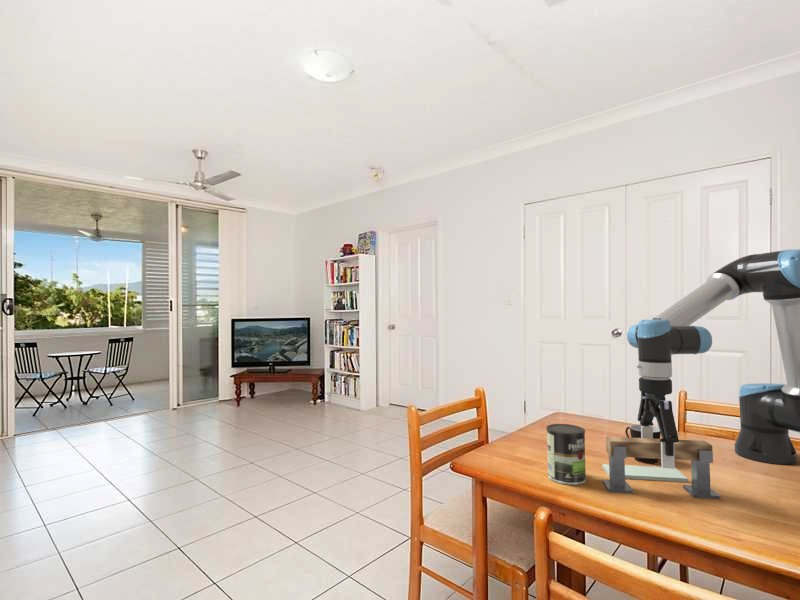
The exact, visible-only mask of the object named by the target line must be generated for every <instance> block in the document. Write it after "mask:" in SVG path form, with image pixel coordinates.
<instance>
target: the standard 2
mask: <svg viewBox="0 0 800 600" xmlns="http://www.w3.org/2000/svg"><path fill="white" fill-rule="evenodd" d="M713 452H714V451H713V449H712V450H702V449H698V461H694V460H690V468H691V469H690V472H691V473H690V474H691V475H690V476H691V484H682V489H683V490H685V491H686V492H687V493H688V494H689V495H690V496H691V497H692V498H695V499H709V500H710V499H711V500H721V498H722V497H721V495H720V494H719V493H717V492H716V491H715V490H714V489H713V488H711V467H710V466H711V465H710V464H713V463H714V453H713Z"/></svg>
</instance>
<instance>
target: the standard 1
mask: <svg viewBox="0 0 800 600" xmlns="http://www.w3.org/2000/svg"><path fill="white" fill-rule="evenodd" d="M627 458H628V457H626V446H613V456H610V455H609V454H608V464H609V474H610V477H609V480H608V479H601V481H602V482H601V483H602V484H603V486H604V487H605V489H606V490H607V492H608V493H617V494H618V493H619V494H632V495H633V494H634V489H633V488H632V487H631V485H630V484H629V483H628V482H627V481H626V479H625V465H626V463H625V460H627Z"/></svg>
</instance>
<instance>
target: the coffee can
mask: <svg viewBox="0 0 800 600" xmlns="http://www.w3.org/2000/svg"><path fill="white" fill-rule="evenodd" d="M545 428H546V429H545V430H546V442H547V443H546V445H547V446H546V447H547V452H546V453H547V477H548V479H549V480H551V481H553V482H554V483H557V484H561V485H565V486H578V485H583V484H585V483H586V482H587V478H586V477H587V476H586V472H587V471H586V438H585V435H586V430H585V428H583V427H581V426H578V425H574V424H567V423H553V424H548V425H547V426H546V427H545Z"/></svg>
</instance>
